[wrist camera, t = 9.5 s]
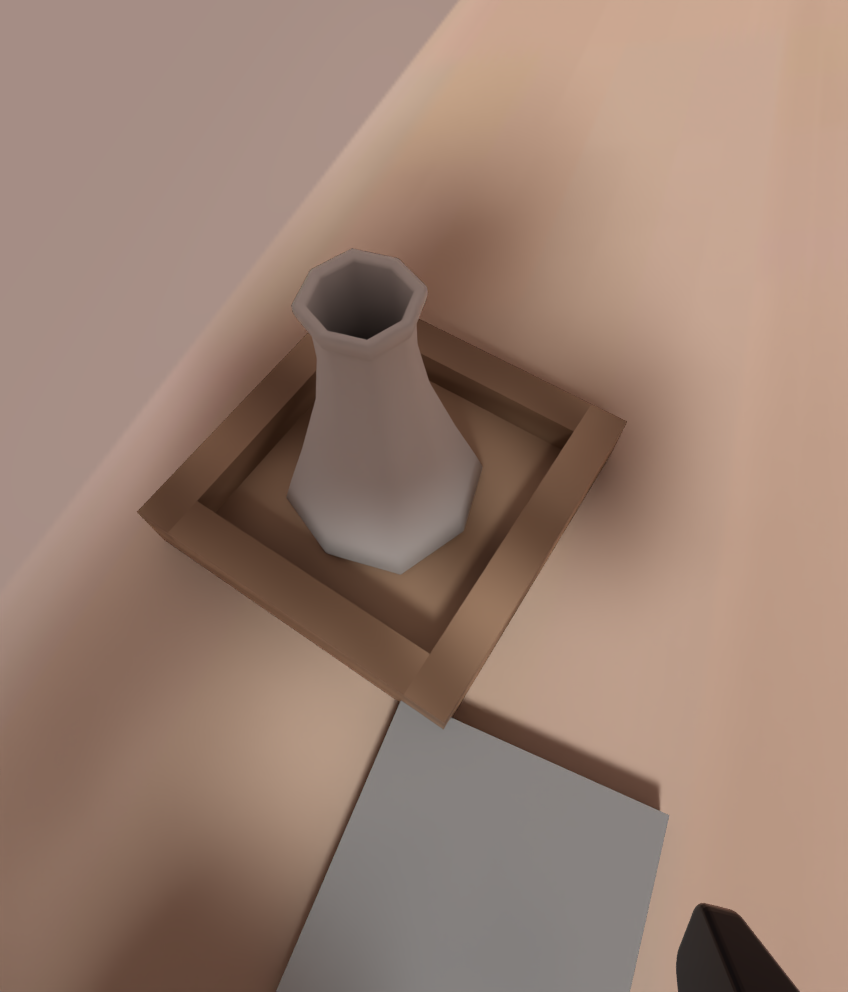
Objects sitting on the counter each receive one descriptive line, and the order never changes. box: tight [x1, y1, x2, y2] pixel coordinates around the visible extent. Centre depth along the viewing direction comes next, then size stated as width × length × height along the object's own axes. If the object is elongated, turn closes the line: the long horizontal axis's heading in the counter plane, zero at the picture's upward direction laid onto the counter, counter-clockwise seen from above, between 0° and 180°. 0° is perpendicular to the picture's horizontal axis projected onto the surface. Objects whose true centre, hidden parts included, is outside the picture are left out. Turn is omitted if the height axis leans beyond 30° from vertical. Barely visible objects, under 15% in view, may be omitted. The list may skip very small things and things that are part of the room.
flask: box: [286, 249, 483, 575], centre depth 20 cm, size 7×7×10 cm
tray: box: [137, 319, 627, 730], centre depth 24 cm, size 13×13×2 cm
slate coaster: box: [276, 701, 669, 992], centre depth 18 cm, size 9×9×1 cm
